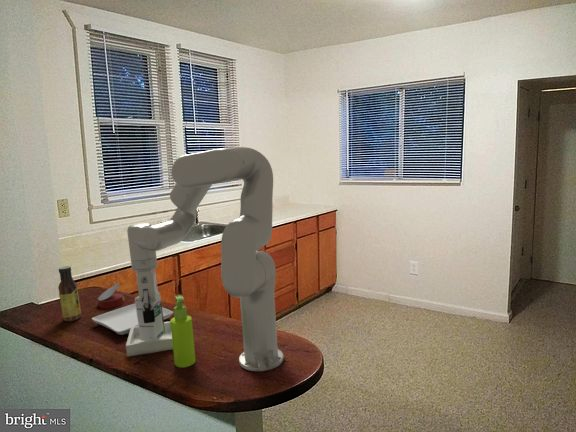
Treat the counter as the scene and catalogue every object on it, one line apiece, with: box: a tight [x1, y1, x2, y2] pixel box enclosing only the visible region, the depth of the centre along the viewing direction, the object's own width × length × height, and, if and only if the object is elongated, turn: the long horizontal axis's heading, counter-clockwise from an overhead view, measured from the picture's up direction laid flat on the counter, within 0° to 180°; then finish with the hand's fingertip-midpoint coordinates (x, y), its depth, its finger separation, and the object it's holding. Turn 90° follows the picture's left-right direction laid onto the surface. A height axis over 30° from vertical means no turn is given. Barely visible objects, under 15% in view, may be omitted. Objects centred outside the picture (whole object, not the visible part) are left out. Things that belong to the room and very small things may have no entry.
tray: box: [125, 321, 173, 357], centre depth 134 cm, size 14×14×4 cm
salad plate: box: [91, 303, 174, 336], centre depth 152 cm, size 21×21×3 cm
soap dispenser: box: [170, 294, 197, 368], centre depth 119 cm, size 6×7×20 cm
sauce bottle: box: [58, 266, 82, 323], centre depth 156 cm, size 7×6×20 cm
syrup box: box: [134, 291, 165, 341], centre depth 133 cm, size 6×6×14 cm
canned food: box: [97, 282, 125, 309], centre depth 172 cm, size 11×10×10 cm
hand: (150, 317), depth 133 cm, fingers closed on syrup box, 7 cm apart
